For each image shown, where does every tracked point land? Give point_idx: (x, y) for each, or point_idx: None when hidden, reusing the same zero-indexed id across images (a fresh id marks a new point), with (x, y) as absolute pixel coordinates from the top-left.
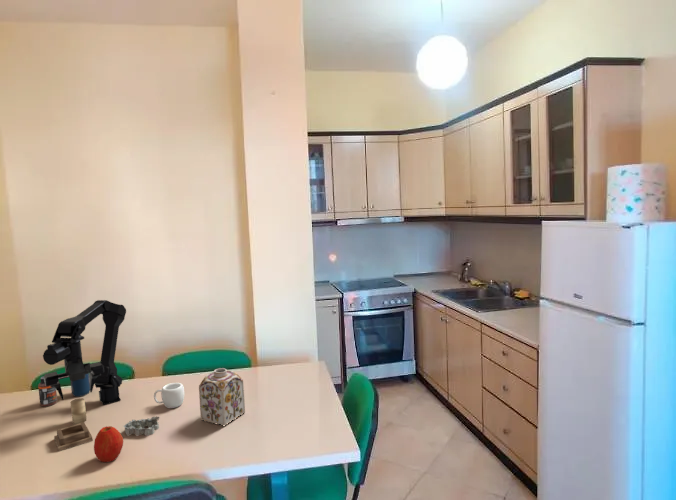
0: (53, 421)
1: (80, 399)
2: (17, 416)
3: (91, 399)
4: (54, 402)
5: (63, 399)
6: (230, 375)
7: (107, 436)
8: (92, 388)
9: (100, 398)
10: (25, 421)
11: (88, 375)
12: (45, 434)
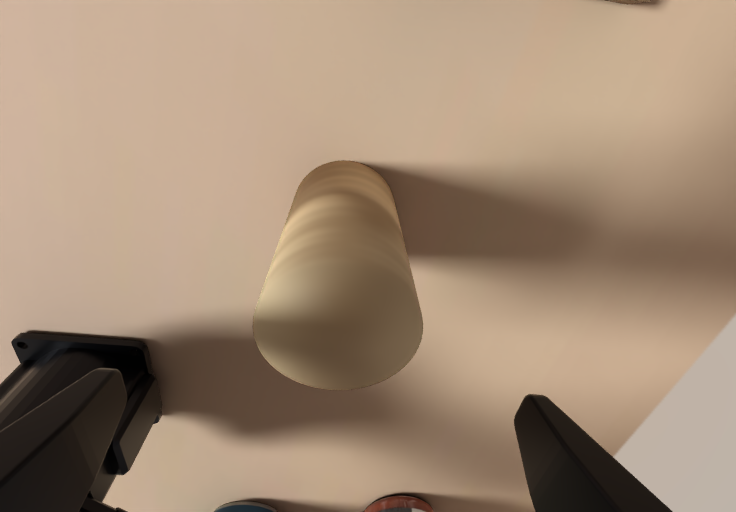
0: (466, 335)
1: (297, 344)
2: None
3: (210, 449)
4: (381, 506)
5: (528, 395)
6: None
7: None
8: (24, 421)
9: (142, 401)
10: None
11: None
12: (600, 180)
